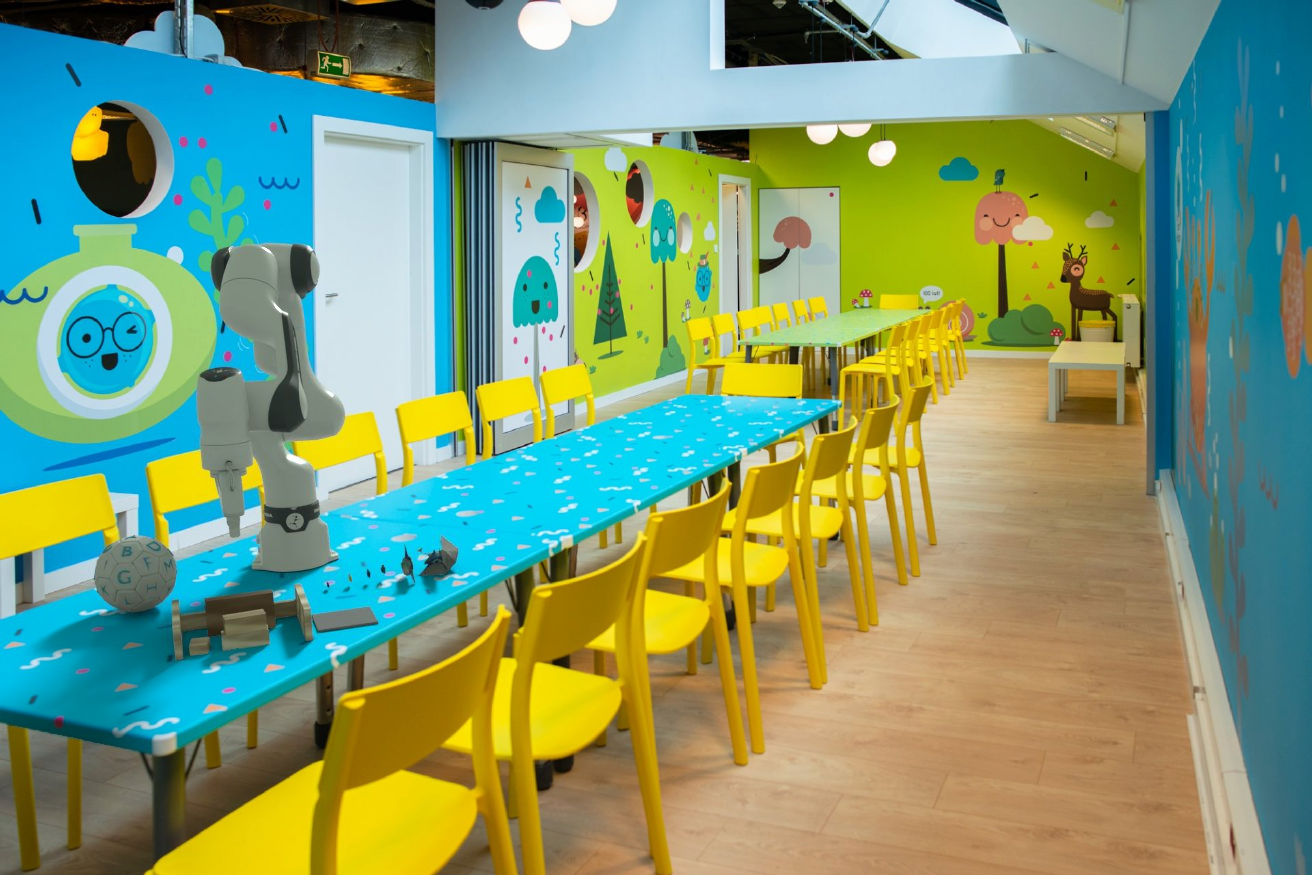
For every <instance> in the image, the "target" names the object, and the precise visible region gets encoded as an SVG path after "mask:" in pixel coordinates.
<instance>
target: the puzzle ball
mask: <svg viewBox="0 0 1312 875" xmlns="http://www.w3.org/2000/svg"><path fill="white" fill-rule="evenodd" d="M174 557H175V555H174V554H173V553H172V551H171V549H169V548H168V547H167V546H166V545H165V544H164V543H163V542H162V541H159V540H158V539H156V538H153V537H149V536H147V535H146V536H144V535H135V534H134V535H131V536H130V535H129V536H125V537H122V538H120V539H117V540H115V541H114V542H111V543H109V544H108V545H107V546H106V547H105V548H104V549H103V550H102V552H101V553H100V555H99V556H98V558H97V560H96V564H95V568H94V575H93V581H94V586H95V589H96V593H97V594H98V595H99V596H100V597H101V599H102V600H103V601H104V602H105V603H106V604H108V605H109V606H111V607H113V608H115V609H117V610H121V611H123V612H128V613H140V612H145V611H148V610H152V609H154V608H156V607H157V606H159V605H160V604H162V603H163V602H165V600H166V599H167V598H168V597H169V596H170V595H171V593H172V592H173V590H174V588H175V586H176V581H177V574H178V567H177V563H176V562H177V561H176V558H174Z"/></svg>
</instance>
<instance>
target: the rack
mask: <svg viewBox="0 0 1312 875" xmlns="http://www.w3.org/2000/svg"><path fill="white" fill-rule="evenodd" d="M293 586H294V598H293V599H286V600H277V601H274V610H275V618H276V619H280V618H281V619H282V618H289V616H290V617H297V619H298V621H299V624H300V626H301V630H302V633H303V636H304V639H305V641H306V642H309V641H313V640H314V633H313V621H312V620H313V618H312V609H311V606H310V604H309V600H308V598H307V595H306V593H305V590H304V588H303V586H302V584H301V583H294V585H293ZM171 620H172V621H171V622H172V624H171V625H172V629H171V630H172V636H173V637H172V638H173V639H172V640H173V649H174V656H175V657H174V659H175V661H182V660H183V659H184V652H183V651H184V650H183V632H190V631H195V630H202V629H204V630H205V629H207V622H206V612H205V610H204V611H197V612H189V613H188V612H187V613H181V609H180V599H172V600H171Z"/></svg>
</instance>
